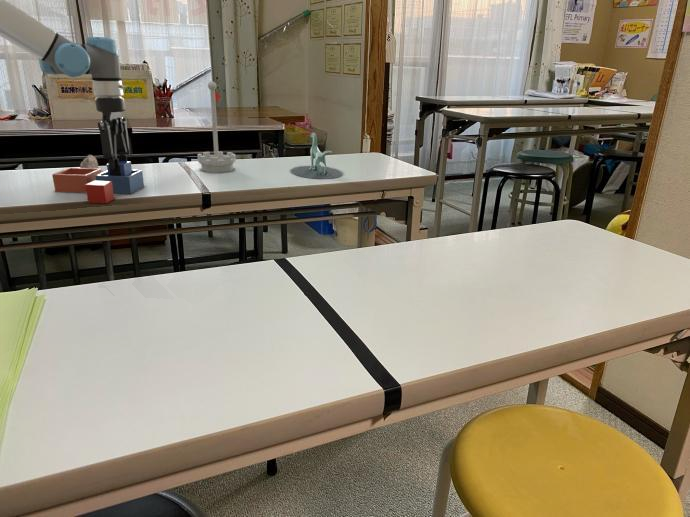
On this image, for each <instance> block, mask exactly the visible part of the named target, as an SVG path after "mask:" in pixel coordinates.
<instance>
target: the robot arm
mask: <svg viewBox="0 0 690 517" xmlns="http://www.w3.org/2000/svg"><path fill="white" fill-rule="evenodd" d="M0 37H1V38H3V39H5V40H6V41H8V42H10V43H11V44H13V45H15V46H17V47H18V48H20V49H21V50H23V51H25V52H26V53H29V54H30V55H32V56H34V57H35V58H37V59H38V64H39V68H40V70H41V72H42V73H43V74H47V75H54V76H57V75H66V76H68V77H71V78H77V77H81V76H84V75H91V80H92V88H93V95H94V96H95V98H94V102H95V109H96V111H97V112H99V113H101V114H102V116H101V120H102V121H98V122H97V127H98V130H99V135H100V143H101V149H102V157H103V159H104V160H107V162H108V163H107V164H109V170H110V176H121V174H120V167H119V161H128V156H129V155H131V151H130V150H131V149H130V140H129V132H128V119H127V117H123V116H122V112H125V111H126V104H125V99H124V97H122V96H124V88H125V86H124V84H123V80H122V79H123V78H122V72H121V62H120V53H119V49H118V48H119V47H118V43H117V40H116V39H115V38H113V37H110V36H109V37H108V36H107V37H106V36H87V37H86V42H85V43H83V44H82V43H81V44H79V43H76V42H72V41H71V40H70V39H68V38H66V37H64V36H63V35H61V34H60V33H58V32H56V30H54V29H52V28H50V27H49V26H47V25H46V24H44V23H42V22H41V21H40V20H38V19H36V18H35V17H33V16H31V15H30V14H29V13H27V12H25V11H24V10H22V9H20V8H19V7H17V6H15V5H14V4H13V3H11V2H9V1H8V0H0Z"/></svg>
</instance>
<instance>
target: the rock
mask: <svg viewBox="0 0 690 517" xmlns="http://www.w3.org/2000/svg"><path fill="white" fill-rule="evenodd" d="M79 168H92V169H100V166H99V163H98V160H97V157H96V156H93V155H92V154H87V157H85V158H84V159H83V161H81V162H80V166H79ZM103 172H105V171H104V170H102V173H103Z"/></svg>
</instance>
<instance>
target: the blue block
mask: <svg viewBox="0 0 690 517" xmlns="http://www.w3.org/2000/svg"><path fill="white" fill-rule="evenodd" d="M119 167H120V174H121V176H130V175H132V170H133V169H132V161H128V160H127V161H119ZM106 171H108V176H110V170H109V163H106Z"/></svg>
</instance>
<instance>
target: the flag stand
mask: <svg viewBox="0 0 690 517" xmlns="http://www.w3.org/2000/svg"><path fill="white" fill-rule="evenodd" d="M207 88H208V89H209V92H210V93H209V94H210V108H211V126H212V139H213V140H212V141H213V154H211V152H210V151H203V152H202V153H197V162H198V163H199V164H200V167H201V171H202V172H206V173H229V172H231V171H234V164H235V163H236V153H234V152H230V151H228V152H226V154H224V152H223V151H219V139H218V138H219V136H218V120H217V119H218V118H217V108H216V107H217V105H216V104H217V101H219V99H220V98H221V95H220V94H219V93H218V92H216V90H217V83H216V82H215V81H213V80H212V81H209V82H207Z"/></svg>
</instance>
